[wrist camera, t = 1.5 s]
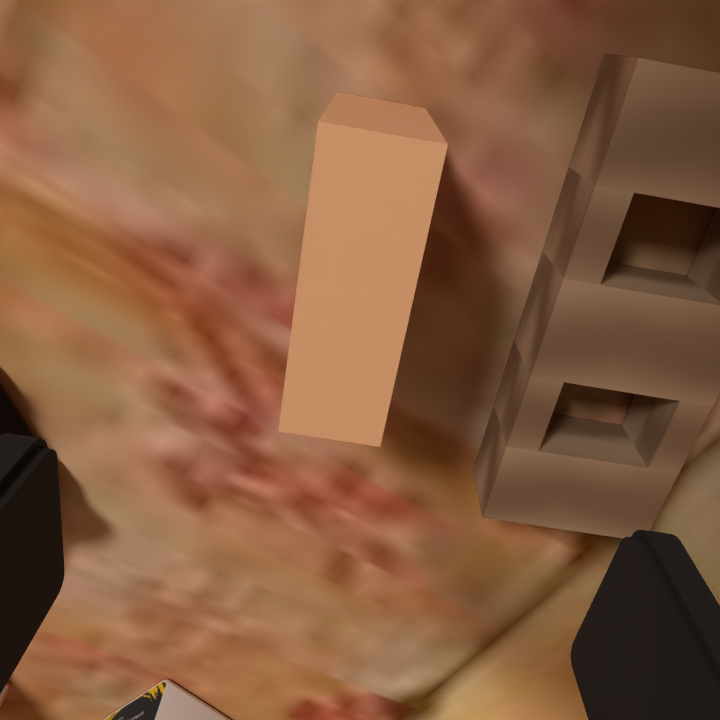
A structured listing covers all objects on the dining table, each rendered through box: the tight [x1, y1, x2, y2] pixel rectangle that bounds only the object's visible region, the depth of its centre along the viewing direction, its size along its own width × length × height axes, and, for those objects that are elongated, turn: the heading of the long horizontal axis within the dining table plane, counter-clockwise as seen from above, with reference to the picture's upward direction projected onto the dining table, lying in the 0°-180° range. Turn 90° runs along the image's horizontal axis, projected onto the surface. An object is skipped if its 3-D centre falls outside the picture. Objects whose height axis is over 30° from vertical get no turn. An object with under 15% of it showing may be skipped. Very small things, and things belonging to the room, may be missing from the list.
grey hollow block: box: [473, 54, 720, 538], centre depth 27 cm, size 20×8×4 cm, turn 170°
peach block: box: [278, 92, 448, 447], centre depth 23 cm, size 10×4×9 cm, turn 170°
